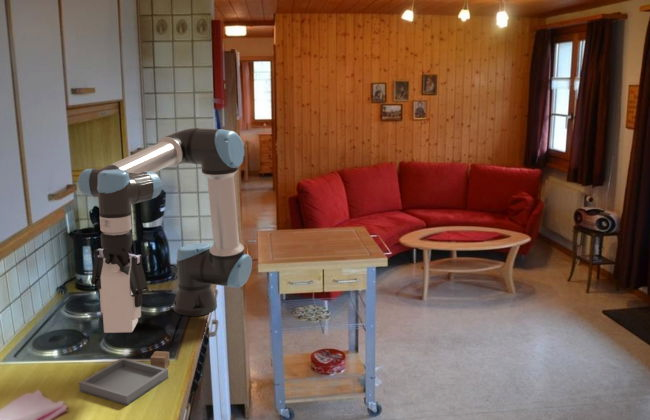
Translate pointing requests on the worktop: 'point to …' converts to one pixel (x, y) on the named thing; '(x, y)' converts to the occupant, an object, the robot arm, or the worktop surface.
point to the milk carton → (116, 299)
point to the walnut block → (160, 359)
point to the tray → (123, 381)
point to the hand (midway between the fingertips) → (120, 314)
